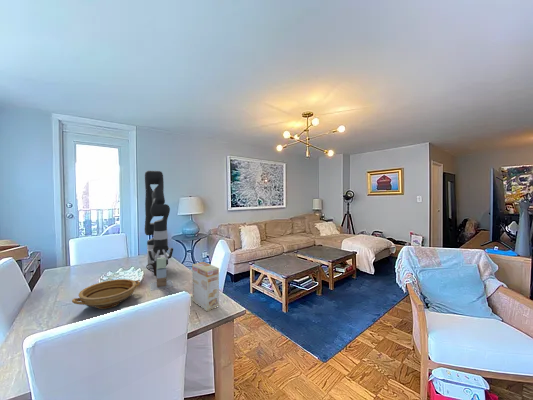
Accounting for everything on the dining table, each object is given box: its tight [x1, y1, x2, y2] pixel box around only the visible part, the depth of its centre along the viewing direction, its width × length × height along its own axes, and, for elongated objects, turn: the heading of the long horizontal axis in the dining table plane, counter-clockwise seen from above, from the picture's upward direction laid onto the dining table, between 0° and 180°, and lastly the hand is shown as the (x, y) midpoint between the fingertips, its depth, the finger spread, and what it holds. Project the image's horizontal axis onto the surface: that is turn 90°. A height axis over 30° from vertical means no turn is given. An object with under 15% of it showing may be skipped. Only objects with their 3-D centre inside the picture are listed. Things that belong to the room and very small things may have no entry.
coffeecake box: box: [191, 261, 220, 312], centre depth 117 cm, size 15×7×20 cm, turn 44°
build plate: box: [149, 279, 174, 291], centre depth 139 cm, size 12×12×1 cm
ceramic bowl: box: [71, 278, 141, 310], centre depth 118 cm, size 30×24×8 cm
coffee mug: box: [146, 261, 157, 277], centre depth 157 cm, size 12×9×10 cm
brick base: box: [156, 276, 167, 287], centre depth 139 cm, size 5×5×5 cm
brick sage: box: [157, 256, 167, 269], centre depth 138 cm, size 5×5×5 cm
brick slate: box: [156, 267, 167, 280], centre depth 139 cm, size 5×5×5 cm
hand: (161, 266), depth 138 cm, fingers closed on brick sage, 4 cm apart
